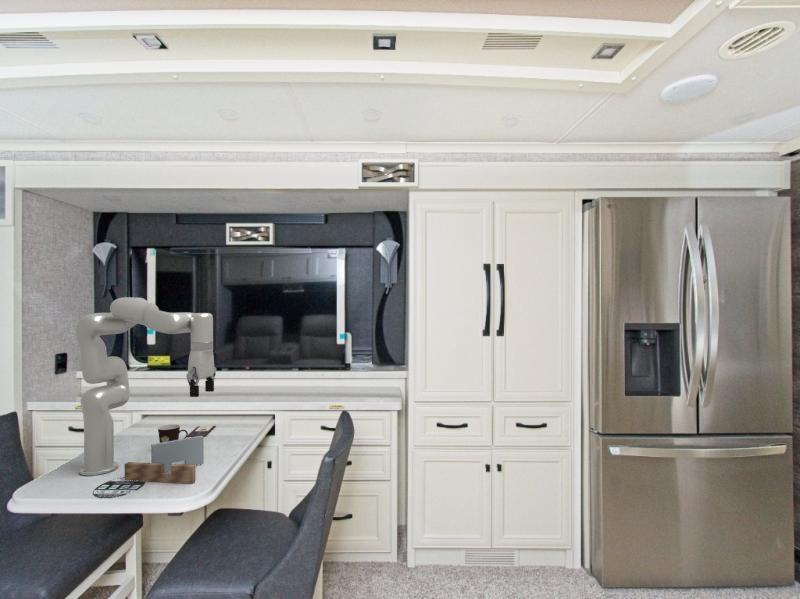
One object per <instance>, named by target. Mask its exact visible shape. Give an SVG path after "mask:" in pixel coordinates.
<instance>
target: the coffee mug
mask: <svg viewBox="0 0 800 599" xmlns="http://www.w3.org/2000/svg"><path fill="white" fill-rule="evenodd" d="M157 431H158V439H159V443H162V442H167V441H173V440H179V438H180V434H181V432H184V433H185V434H186V435H185V436H184V437H183V439H185V438H186V437H187V436H188V434H189V433H188V431H187V430H186V429H181V425H180V424H176V423H175V424H174V423H173V424H164V425H161V426H158V428H157Z"/></svg>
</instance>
